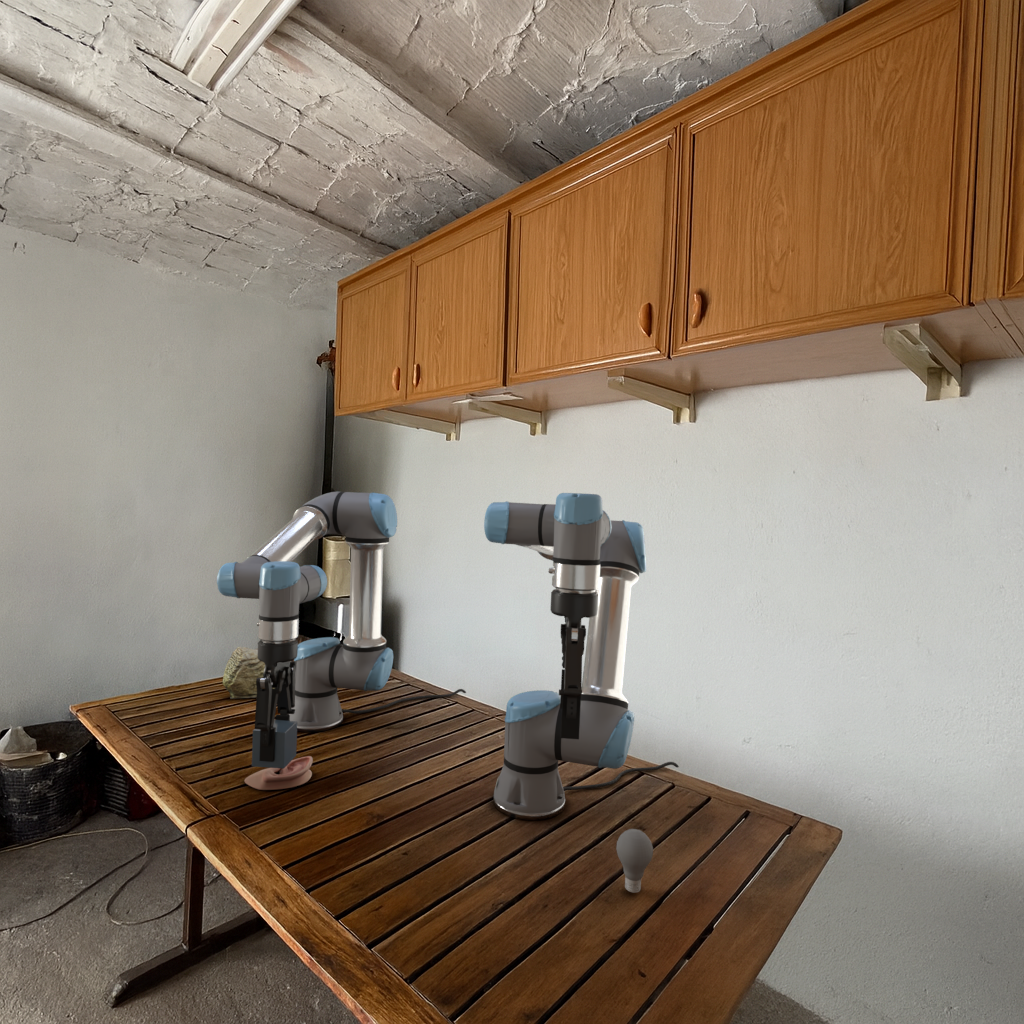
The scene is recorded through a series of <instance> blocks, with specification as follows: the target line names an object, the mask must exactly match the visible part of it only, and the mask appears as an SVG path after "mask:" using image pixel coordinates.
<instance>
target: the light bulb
mask: <svg viewBox="0 0 1024 1024" xmlns="http://www.w3.org/2000/svg"><path fill="white" fill-rule="evenodd" d="M615 849H616V854H617V857H618V859H619V861H620V863H621V865H622V867H623V873H624V874H623V875H624V876H625V878H624V888H625V890H627V891H628V892H630V893H634V894H635V893H639V892H640V891H641V889H642V887H641V886H642V879H643V877H644V875H645V871H646V868H647V867H648V866H649V864H650V863H651V861H652V859H653V855H654V847H653V843H652V841H651V838H649V836H648V835H647V834H646V833H645V832H643V831H642V830H641V829H636V828H629V829H627V830H625V831H623V832H622V833H621V834H620V835H619V837H618V839H617V841H616V847H615Z"/></svg>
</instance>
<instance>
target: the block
mask: <svg viewBox="0 0 1024 1024" xmlns="http://www.w3.org/2000/svg"><path fill="white" fill-rule="evenodd" d="M273 727H276V732H275V760H274V761H273V762H269V761H259V759H260V729H255V728H254V729H252V748H251V767H252V768H253V767H254V768H255V767H256V768H266V769H267V768H282V769H284V768H285V767H286V766H287V765H288V764H289V763H290V762H291V761H292V760H295V758H296V757H297V744H298V743H297V742H298V731H297V721H286V720H275V719H274V726H273Z"/></svg>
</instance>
